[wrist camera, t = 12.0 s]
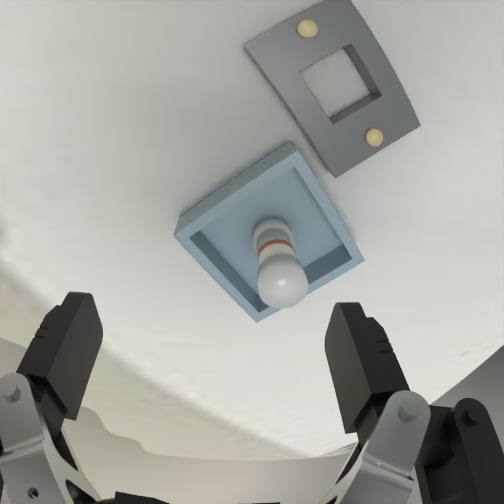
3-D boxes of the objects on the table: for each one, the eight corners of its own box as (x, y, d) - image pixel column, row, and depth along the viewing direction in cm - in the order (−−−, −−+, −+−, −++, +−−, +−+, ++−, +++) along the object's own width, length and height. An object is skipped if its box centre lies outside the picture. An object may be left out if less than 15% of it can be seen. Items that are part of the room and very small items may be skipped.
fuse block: (335, -3, 21) (346, -10, 18) (408, 121, 27) (423, 126, 24) (243, 48, 23) (244, 44, 21) (327, 170, 30) (336, 180, 27)
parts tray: (290, 140, 28) (298, 150, 25) (352, 240, 34) (364, 260, 30) (179, 216, 31) (173, 235, 28) (254, 299, 37) (256, 322, 34)
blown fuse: (277, 208, 30) (292, 259, 23) (297, 237, 32) (317, 292, 24) (244, 229, 31) (248, 285, 24) (266, 256, 33) (275, 315, 25)
